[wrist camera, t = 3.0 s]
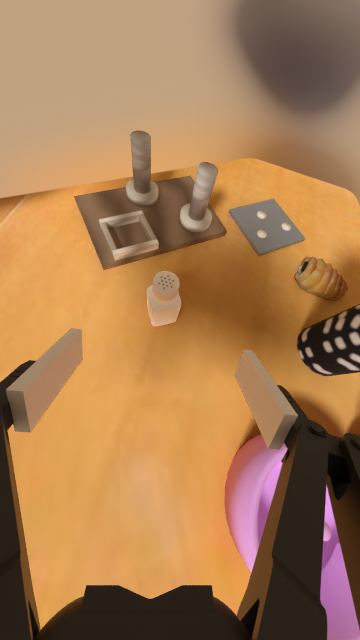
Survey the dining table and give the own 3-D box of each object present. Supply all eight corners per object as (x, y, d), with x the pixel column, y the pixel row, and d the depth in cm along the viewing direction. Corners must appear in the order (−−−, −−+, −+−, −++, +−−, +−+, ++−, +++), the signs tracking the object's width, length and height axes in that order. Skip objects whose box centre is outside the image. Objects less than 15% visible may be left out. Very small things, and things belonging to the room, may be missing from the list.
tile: (258, 255, 39) (261, 252, 38) (228, 212, 42) (230, 208, 41) (303, 240, 42) (306, 237, 41) (272, 201, 46) (274, 197, 45)
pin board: (103, 270, 33) (84, 215, 23) (76, 202, 38) (50, 132, 28) (224, 235, 40) (249, 181, 30) (189, 181, 44) (200, 118, 34)
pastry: (342, 284, 40) (360, 273, 36) (334, 310, 37) (354, 301, 34) (299, 260, 40) (313, 247, 37) (289, 284, 38) (303, 273, 34)
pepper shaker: (170, 300, 33) (178, 265, 24) (177, 323, 32) (187, 294, 23) (146, 305, 32) (145, 270, 23) (152, 328, 31) (153, 300, 22)
